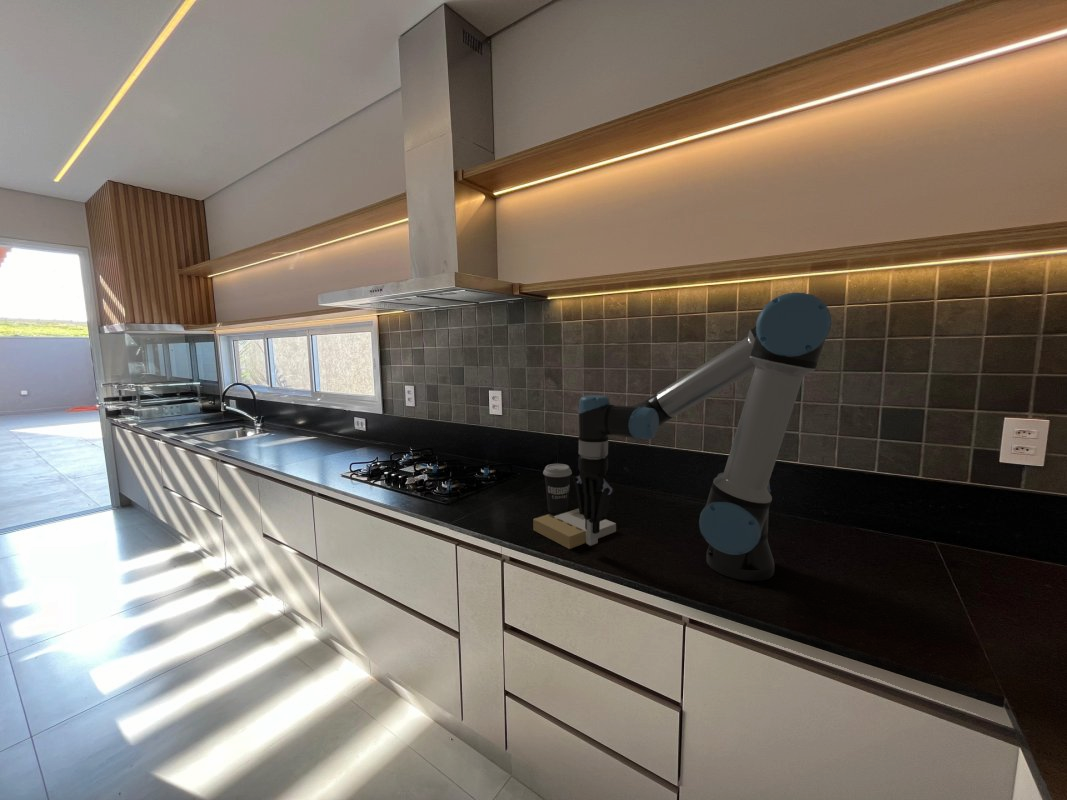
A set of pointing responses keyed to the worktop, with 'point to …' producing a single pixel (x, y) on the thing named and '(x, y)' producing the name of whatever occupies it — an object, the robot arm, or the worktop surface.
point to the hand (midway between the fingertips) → (592, 543)
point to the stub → (559, 531)
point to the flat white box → (579, 521)
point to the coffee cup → (557, 487)
